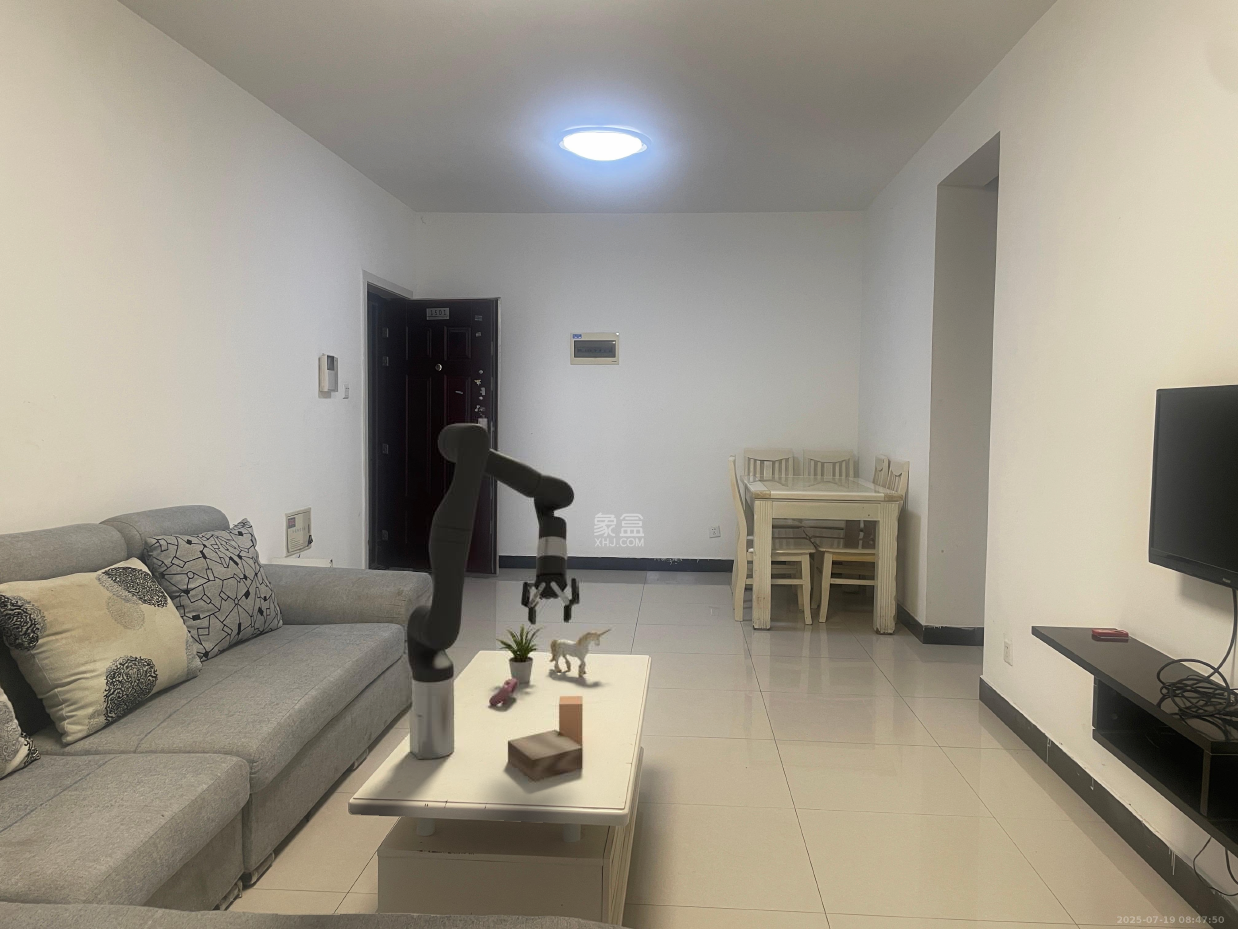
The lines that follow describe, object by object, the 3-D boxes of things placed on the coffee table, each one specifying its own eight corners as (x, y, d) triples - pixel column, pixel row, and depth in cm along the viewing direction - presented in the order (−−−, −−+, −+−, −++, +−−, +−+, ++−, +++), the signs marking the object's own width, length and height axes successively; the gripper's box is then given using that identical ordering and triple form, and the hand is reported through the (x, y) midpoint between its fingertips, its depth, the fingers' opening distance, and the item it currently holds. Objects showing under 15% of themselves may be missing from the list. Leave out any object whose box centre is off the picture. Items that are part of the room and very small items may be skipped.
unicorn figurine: (604, 679, 232) (605, 634, 231) (542, 674, 237) (542, 629, 236) (611, 672, 239) (611, 628, 238) (550, 667, 244) (550, 624, 243)
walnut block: (532, 783, 165) (532, 760, 165) (507, 763, 175) (507, 740, 175) (582, 770, 172) (582, 747, 171) (555, 751, 182) (555, 729, 181)
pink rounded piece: (501, 712, 209) (512, 690, 208) (486, 704, 210) (498, 681, 209) (513, 700, 219) (524, 678, 218) (499, 691, 219) (510, 670, 219)
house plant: (532, 668, 242) (532, 615, 241) (557, 680, 231) (557, 624, 230) (490, 677, 233) (490, 622, 233) (514, 690, 222) (514, 632, 222)
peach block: (559, 746, 183) (559, 704, 183) (559, 737, 188) (559, 696, 188) (582, 746, 183) (582, 704, 183) (582, 737, 189) (582, 696, 188)
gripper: (519, 556, 196) (516, 621, 189) (574, 551, 192) (572, 617, 186) (530, 564, 203) (527, 628, 196) (583, 560, 199) (582, 624, 193)
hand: (549, 623), depth 191 cm, fingers open, 8 cm apart
